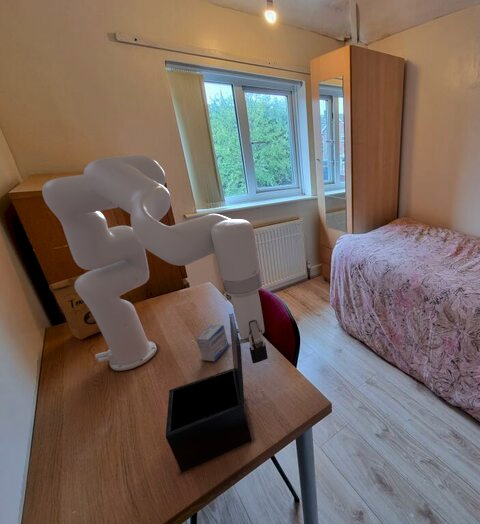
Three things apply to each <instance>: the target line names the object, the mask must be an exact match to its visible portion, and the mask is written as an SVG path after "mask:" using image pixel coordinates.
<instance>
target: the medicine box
mask: <svg viewBox="0 0 480 524" xmlns="http://www.w3.org/2000/svg"><path fill="white" fill-rule="evenodd" d="M195 341H196V343H197V346H198V350H199V352H200V356H201V359H202V361H208V362H216V361H217V360H218V358H220V356H221V355H222V354H223V353H224V352H225V350H226V349H227V348H228V347H229V342H228V337H227V334H226V329H225V326H224V324H217V323H212V324H211V325H210V326H209V327H207V328H206V329H205V330H204V331H203V332H202V333H201V334H200V335H199V336H198V337H197V338H196V340H195Z"/></svg>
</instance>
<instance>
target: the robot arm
mask: <svg viewBox="0 0 480 524" xmlns="http://www.w3.org/2000/svg"><path fill="white" fill-rule="evenodd" d="M165 184H166V174H165V171H164V169H163V168H162V166H161V165H160V164H159V163H158V162H157V161H156V160H154V159H153V158H151V157H149V156H146V155H141V154H136V155H123V156H122V155H121V156H110V157H109V156H108V157H103V158H97V159H95V160H92V161H91V162H89V163H88V164H87V165H86V166H85V168H84V169H83V174H78V175H76V174H75V175H69V176H62V177H57V178H52V179H50V180H47V181H46V182H44V184H43V186H42V189H41V193H42V198H43V200H44V203H45V204H46V206H47V207H48V208H49V210H50V211H51V212H52V214H54V216H55V217H56V218H57V219H58V221H59V222H60V224H61V227H62V230H63V232H64V236H65V238H66V241H67V244H68V247H69V251H70V254H71V256H72V259H73V261H74V263H75V264H76V265H77V266H78V267H79V268H81V269H83V270H84V271H85V270H86V271H87V272H85V273H83V274H80V275H79V276H80V277H79V278H78V279H77V280H76V281H75V285H74V286H75V290H76V292H77V293H78V295H79V296H80V297H81V299H82V300H83V301H84V302H85V304H86V305H87V306H88V308H89V309H90V311H91V313H92V315H93V317H94V318H95V320H96V323H97V325H98V326H99V328H100V331H101V332H100V333H101V335H102V337H103V339H104V341H105V343H106V345H107V347H108V350H107V351H103V352H99V353H96V354H95V355H94V357H95V360H96V361H98V363H99V364H103V363H105V362H108V364H109V367H110V369H112V370H113V371H117V372H118V371H128V370H131V369H135V368H138V367H139V366H141V365H143V364H145V363H146V362H148V361H149V360H151V359H152V358H153V357H154V355H155V354H156V352H157V350H158V348H157V345H156V343H155V342H153V341H150V340H148V338H147V335H146V333H145V330H144V328H143V326H142V323H141V320H140V317H139V315H138V312H137V311H136V307H135V305H133V304H132V302H130V301H129V300H126V299H123V298H121V296H124V295H125V294H126V293H128V292H131V291H132V290H135V289H137V288H140V287H141V286H143V285H145V284H146V283H147V282H148V281H149V280H150V269H149V264H148V263H149V262H148V257H147V252H146V250H147V251H148V252H150V253H151V254H153V255H154V256H156V257H158V258H159V259H160V260H162V261H164V262H165V263H168V264H170V265H173V266H179V267H180V266H181V267H182V266H183V267H184V266H188V265H190V264H192V263H195V262H197V261H199V260H202V259H203V258H205V257H207V256H211V255H212V254H215V257H216V261H217V266H218V270H219V274H220V278H221V282H222V288H223V292H224V293H225V295H227V296H229V297H230V300H231V305H232V308H233V314H234V319H235V323H236V327H237V329H238V330H239V333H238V335H239V338H240V339H243V340H244V339H247V338H248V339H249V342H248V344H249V348H248V349H249V353H250V357H251V362H252V364H257V363H260V362H263V361H265V360H268V359H269V356H268V350H267V345H266V342H265V340H264V336H263V334H264V333H265V330H266V329H265V323H264V316H263V309H262V305H261V299H260V294H259V291H260V290H261V289H262V288H263V285H264V284H263V278H262V272H261V266H260V260H259V254H258V247H257V243H256V236H255V231H254V226H253V224H252V223H251V222H249V220H246V219H241V218H233V219H232V218H230V217H227V216H225V215H222V214H218V213H209V214H205V215H202V216H199V217H196V218H191V219H188V220H185V221H182V222H179V223H175V224H173V225H166V224H164V223H162V222H161V220H162V219H163V218H164V217H165V216H166V215H167V214H168V212H169V210H170V208H171V205H172V196H171V193H170V191H169V190H168V189H167V188H166V187H165ZM116 208H120V209H121V210H123V211H124V212H126V213H128V214H129V215H130V225H125V224H123V225H116V226H112V227H109V226H108V222H107V219H106V217H105V215H104V214H103V213H102V211H107V210H112V209H116ZM250 331H252V334H249V332H250ZM251 337H253V339H254V342H253V343H252V339H251Z"/></svg>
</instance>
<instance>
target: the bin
mask: <svg viewBox="0 0 480 524" xmlns="http://www.w3.org/2000/svg"><path fill="white" fill-rule="evenodd" d="M165 426H166V427H165V435H164V436H165V439H166V441H167V444H168V446H169V448H170V450H171V452H172V454H173V457H174V459H175V461H176V464H177V466H178V468H179V471H180V472H181V474H182V473H184V472H186V471H189V470H191V469H194V468H196V467H197V466H200V465H202V464H205V463H206V462H209V461H211V460H213V459H215V458H218V457H220V456H222V455H224V454H227V453H229V452H231V451H233V450H236V449H237V448H240V447H242V446H245V445H246V444H250V443H251V442H252V441H253V440H252V435H251V434H252V433H251V429H250V424H249V419H248V414H247V410H246V404H245V403H244V404H242V405H241V404H240V399H239V393H238V388H237V383H236V377H235V372H234V367H232V368H230V369H226V370H224V371H221V372H219V373H215V374H212V375H209V376H206V377H203V378H201V379H198V380H195V381H192V382H189V383H186V384H183V385H180V386H177V387H174V388H171V389H169V390H168V402H167V414H166V425H165Z"/></svg>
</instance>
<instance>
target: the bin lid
mask: <svg viewBox="0 0 480 524" xmlns="http://www.w3.org/2000/svg"><path fill="white" fill-rule="evenodd" d="M228 315H229V329H230V340H231V352H232V365H233V367H232V368H234V372H235V377H236V383H237V388H238V393H239V399H240V404H241V405H242V404H245V389H244V375H243V374H244V373H243V361H242V345H241V344H246V343H249V339H248V338H247V339H244V340H243V339H241V338H240V336H239V330H238V327H237V323H236V319H235V315H234V312H233V313H232V312H231V313H229V314H228ZM249 334H252V331H250V332H249ZM251 339H252V343H253V342H254V339H253V337H251Z"/></svg>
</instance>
